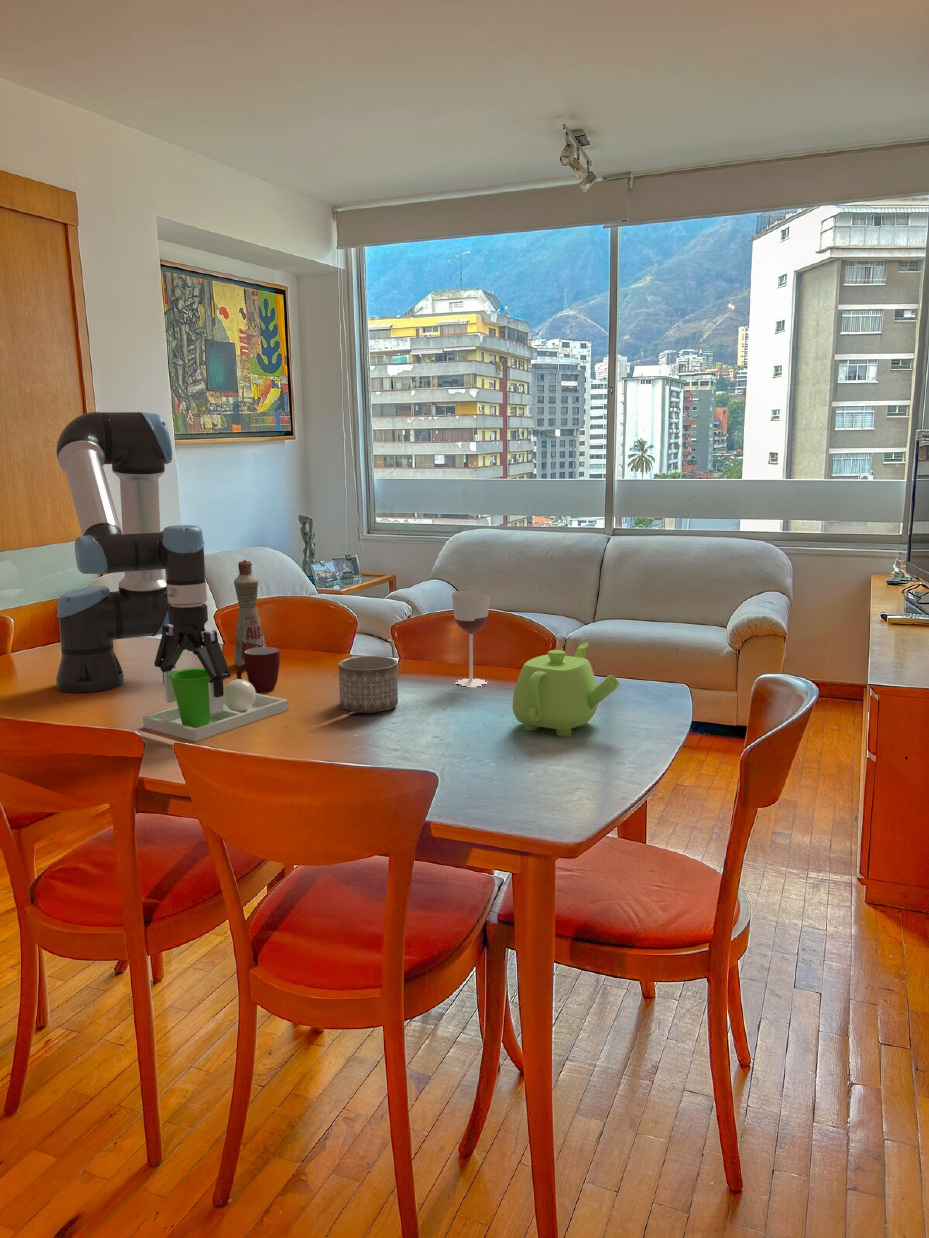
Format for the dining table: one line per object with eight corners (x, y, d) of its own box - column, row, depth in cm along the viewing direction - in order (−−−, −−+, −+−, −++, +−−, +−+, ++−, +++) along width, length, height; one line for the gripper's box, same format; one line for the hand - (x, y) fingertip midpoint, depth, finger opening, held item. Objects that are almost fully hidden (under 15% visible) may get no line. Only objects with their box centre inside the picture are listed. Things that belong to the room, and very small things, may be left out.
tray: (143, 730, 182) (142, 716, 182) (237, 701, 203) (237, 688, 202) (196, 745, 174) (195, 730, 173) (288, 713, 194) (288, 699, 193)
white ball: (216, 712, 192) (214, 680, 191) (241, 704, 198) (239, 673, 196) (238, 717, 188) (237, 685, 187) (263, 709, 194) (262, 678, 193)
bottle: (252, 659, 242) (247, 556, 237) (275, 664, 237) (271, 559, 232) (227, 666, 235) (221, 560, 230) (250, 671, 230) (244, 562, 225)
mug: (251, 701, 203) (249, 658, 201) (230, 695, 208) (227, 653, 206) (288, 691, 211) (286, 650, 209) (266, 685, 216) (264, 645, 214)
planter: (373, 697, 206) (372, 653, 204) (409, 708, 198) (409, 662, 196) (328, 708, 198) (326, 662, 196) (364, 720, 189) (363, 672, 187)
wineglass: (446, 685, 215) (446, 595, 211) (461, 676, 224) (461, 589, 220) (480, 689, 212) (480, 597, 208) (494, 679, 221) (495, 591, 217)
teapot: (594, 753, 169) (596, 671, 165) (495, 734, 180) (495, 657, 177) (643, 718, 189) (646, 645, 186) (551, 703, 201) (552, 634, 197)
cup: (228, 722, 185) (225, 670, 183) (198, 735, 177) (194, 681, 175) (194, 716, 189) (190, 666, 187) (163, 729, 181) (159, 676, 179)
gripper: (131, 600, 182) (139, 701, 186) (215, 613, 168) (221, 721, 173) (162, 595, 188) (169, 693, 192) (245, 607, 175) (250, 712, 179)
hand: (194, 706), depth 183 cm, fingers open, 13 cm apart
